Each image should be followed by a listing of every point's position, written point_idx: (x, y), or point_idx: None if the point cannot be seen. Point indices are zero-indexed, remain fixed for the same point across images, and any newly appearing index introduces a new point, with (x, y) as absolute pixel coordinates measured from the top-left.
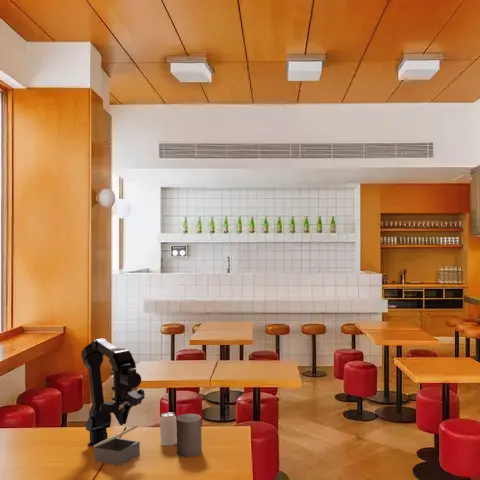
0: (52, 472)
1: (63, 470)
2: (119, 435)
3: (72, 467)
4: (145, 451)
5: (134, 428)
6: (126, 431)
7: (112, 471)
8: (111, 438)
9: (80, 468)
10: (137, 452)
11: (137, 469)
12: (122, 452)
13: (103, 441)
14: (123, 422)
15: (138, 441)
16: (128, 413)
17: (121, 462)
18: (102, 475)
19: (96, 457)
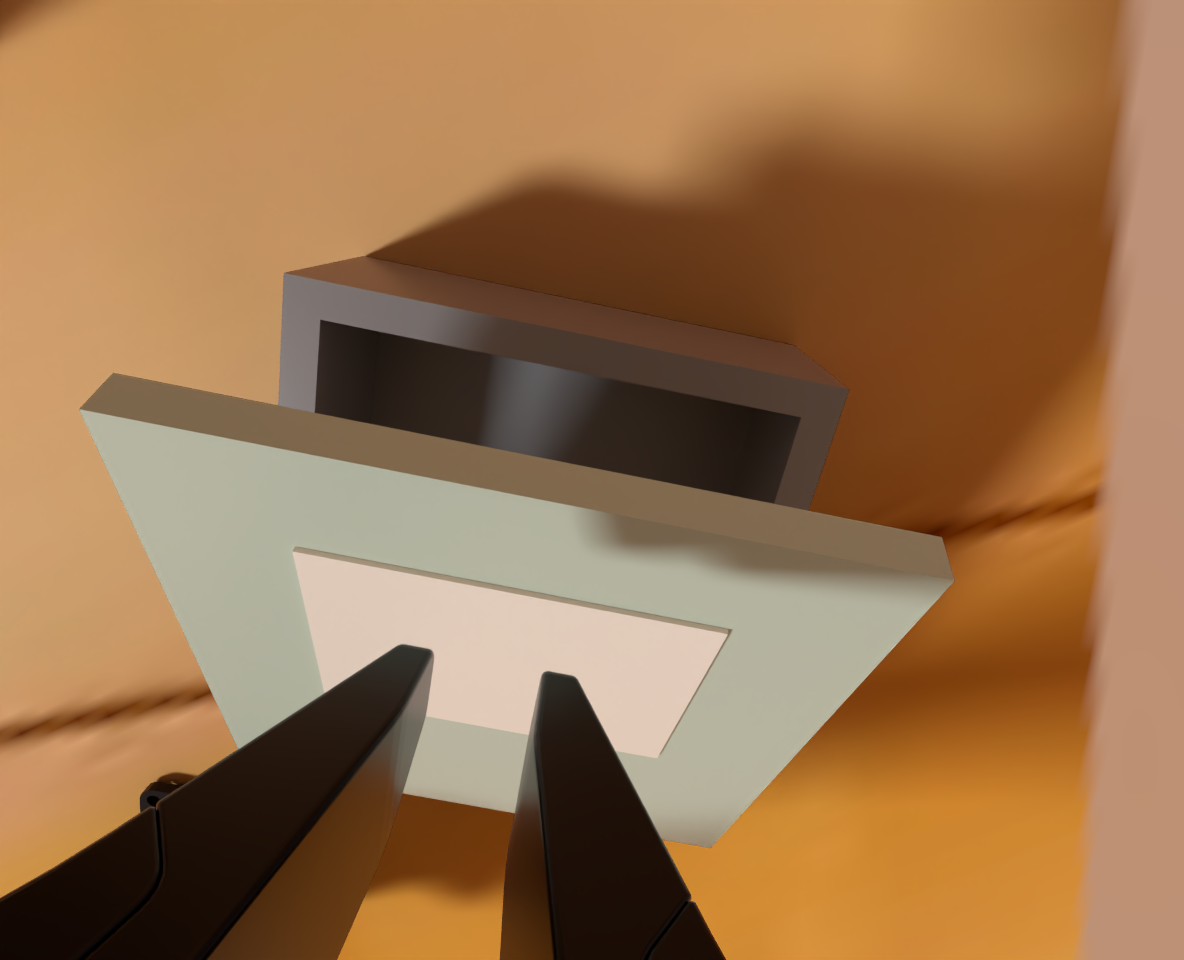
0: (1011, 912)
1: (961, 853)
2: (842, 532)
3: (881, 814)
4: (234, 225)
5: (224, 403)
6: (552, 483)
7: (981, 358)
8: (870, 656)
9: (903, 736)
10: (405, 270)
11: (900, 16)
12: (772, 366)
13: (785, 762)
14: (420, 725)
15: (288, 292)
16: (99, 851)
17: (771, 345)
18: (1109, 423)
19: None
